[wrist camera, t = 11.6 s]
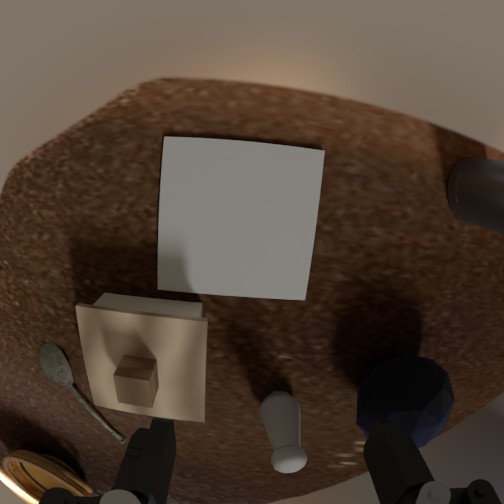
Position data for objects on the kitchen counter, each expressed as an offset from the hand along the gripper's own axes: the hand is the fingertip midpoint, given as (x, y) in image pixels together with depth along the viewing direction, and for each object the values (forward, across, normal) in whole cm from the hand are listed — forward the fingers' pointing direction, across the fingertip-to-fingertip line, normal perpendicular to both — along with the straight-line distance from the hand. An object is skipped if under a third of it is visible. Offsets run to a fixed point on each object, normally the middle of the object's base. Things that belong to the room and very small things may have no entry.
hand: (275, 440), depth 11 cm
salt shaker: (+28, -5, +23) cm, 36 cm away
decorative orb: (+28, -22, +19) cm, 41 cm away
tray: (+27, +2, -4) cm, 28 cm away
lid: (+21, +12, +13) cm, 28 cm away
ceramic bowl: (+26, +41, +55) cm, 73 cm away
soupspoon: (+27, +26, +26) cm, 46 cm away
